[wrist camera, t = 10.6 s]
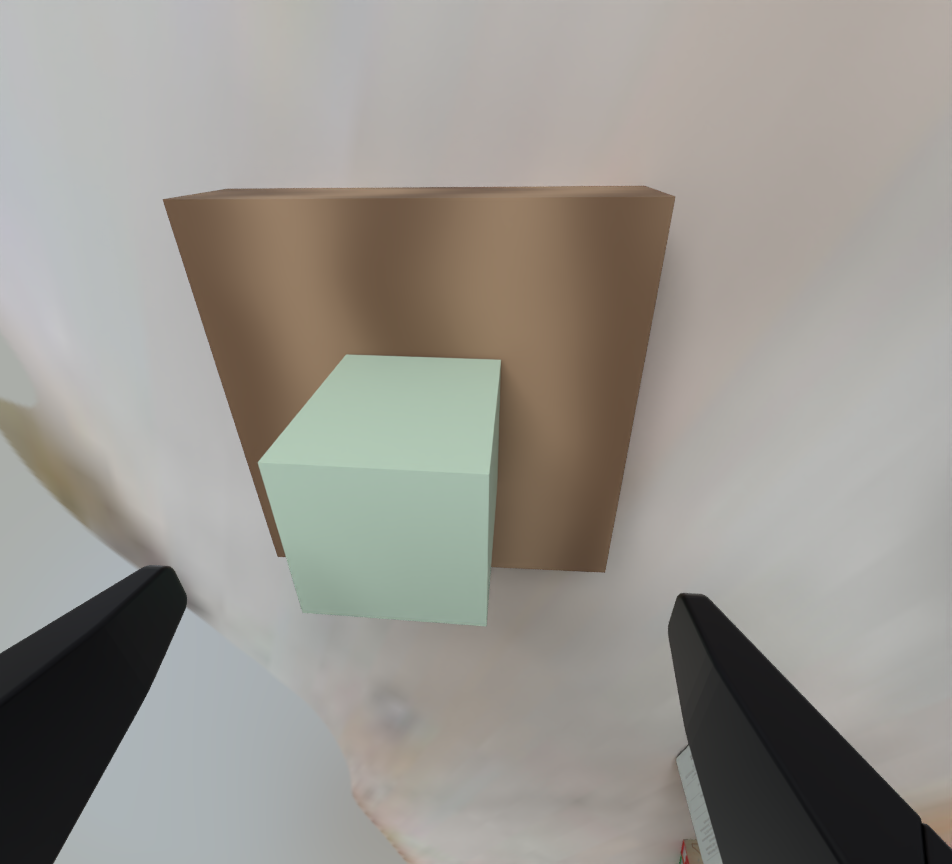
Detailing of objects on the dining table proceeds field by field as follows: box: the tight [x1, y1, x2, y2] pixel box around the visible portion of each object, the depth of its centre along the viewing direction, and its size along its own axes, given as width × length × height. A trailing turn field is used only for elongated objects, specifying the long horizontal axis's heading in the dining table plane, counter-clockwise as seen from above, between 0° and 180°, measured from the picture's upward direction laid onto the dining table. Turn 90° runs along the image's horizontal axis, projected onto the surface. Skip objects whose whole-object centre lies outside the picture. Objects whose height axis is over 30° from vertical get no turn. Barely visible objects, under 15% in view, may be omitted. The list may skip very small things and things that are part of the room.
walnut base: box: [163, 186, 675, 572], centre depth 18 cm, size 14×14×4 cm
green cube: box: [258, 355, 501, 626], centre depth 14 cm, size 5×5×6 cm
